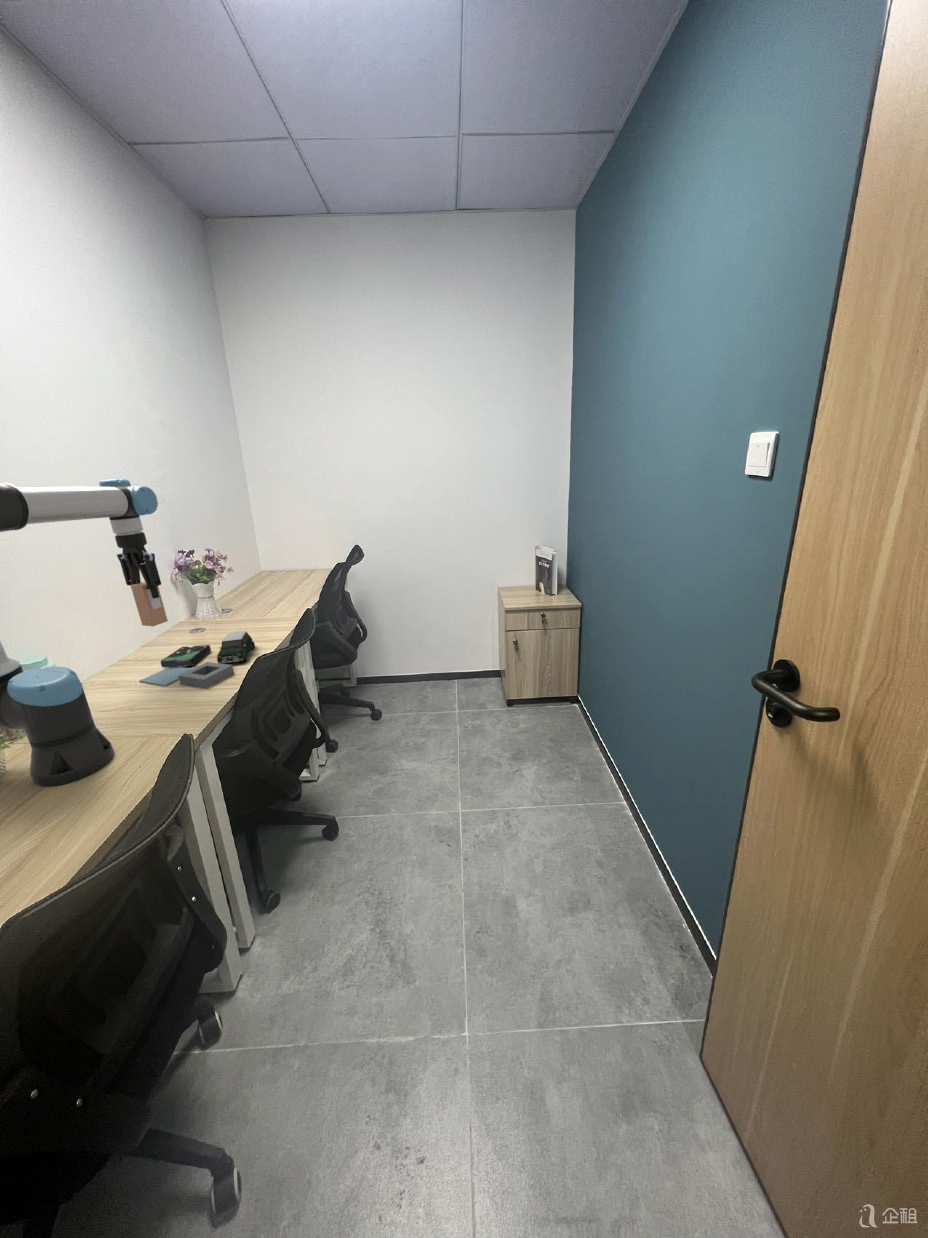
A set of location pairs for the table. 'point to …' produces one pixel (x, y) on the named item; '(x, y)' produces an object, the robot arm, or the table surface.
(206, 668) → the pocket holder
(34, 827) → the table surface
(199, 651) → the disk drive
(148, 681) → the rubber mat
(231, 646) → the miniature car
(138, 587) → the terracotta block
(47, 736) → the robot arm
